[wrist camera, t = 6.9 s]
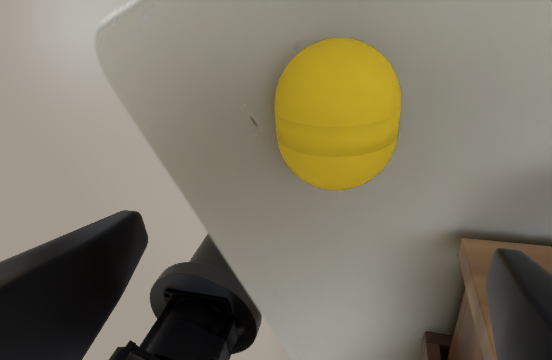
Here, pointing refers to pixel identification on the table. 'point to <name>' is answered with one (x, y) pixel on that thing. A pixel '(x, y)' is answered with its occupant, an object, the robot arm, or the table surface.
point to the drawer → (482, 296)
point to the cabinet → (435, 347)
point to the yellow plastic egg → (337, 113)
